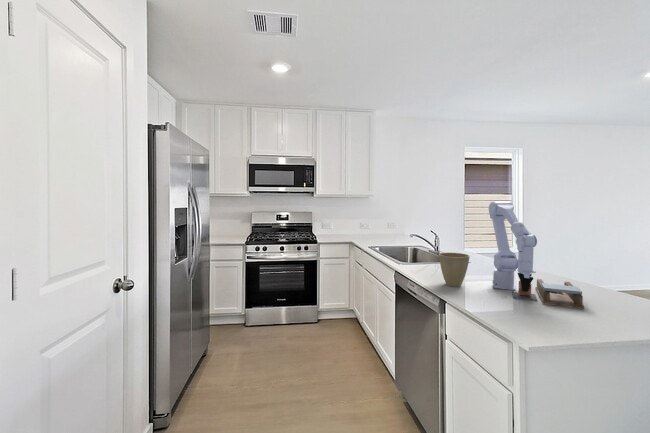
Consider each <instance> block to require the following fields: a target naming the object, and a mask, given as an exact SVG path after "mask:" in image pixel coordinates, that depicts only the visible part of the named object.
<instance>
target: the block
mask: <svg viewBox="0 0 650 433" xmlns="http://www.w3.org/2000/svg"><path fill="white" fill-rule="evenodd" d="M518 292H519V294H522V295H531V294H532V283H531V284H530V287H529V290H528V292H524V291H522V286H521V281H520V280H519V281H518Z"/></svg>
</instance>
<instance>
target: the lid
mask: <svg viewBox="0 0 650 433" xmlns="http://www.w3.org/2000/svg"><path fill="white" fill-rule="evenodd" d="M541 286H542V288H543V290H544V291H554V292H563V293H572V294H581V295H582V296H583V291H582V290H581V289H580V288H579V287H578V286H574V285H573V286H566V285H564V284H554V283H546V282H544V283H541Z"/></svg>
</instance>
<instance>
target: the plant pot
mask: <svg viewBox="0 0 650 433" xmlns="http://www.w3.org/2000/svg"><path fill="white" fill-rule="evenodd" d="M470 257H471V255H469V254H467V253H461V252H440V253H438V258H439V265H440V270H441V273H442V276H443V280H444V282H445V285H447V286H449V287H456V288H457V287H462V285H463V282H464V281H465V277H466V274H467V271H468V267H469V263H470V262H469V261H470Z"/></svg>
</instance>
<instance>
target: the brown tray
mask: <svg viewBox="0 0 650 433" xmlns="http://www.w3.org/2000/svg"><path fill="white" fill-rule="evenodd" d="M541 283H545V282H544V280H543V279H541V278H540V279H539V278H536V286H535V292H536V293H537V295H538V297H539V299H540V302H541V303H542V304H544V305H551V306H560V307H568V308H574V309H575V308H576V309H585V306H584V305H583V299H584V296H583V294H582V295H581V294H572V293H563V292H554V291H544V290H543V288H542V286H541ZM563 285H566V286H574V284H572V283H571V281H564V284H563Z"/></svg>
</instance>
